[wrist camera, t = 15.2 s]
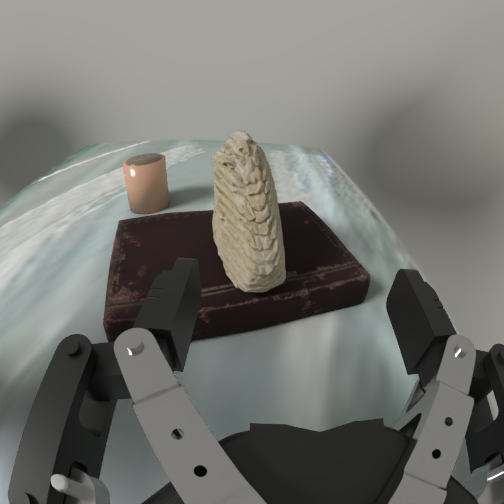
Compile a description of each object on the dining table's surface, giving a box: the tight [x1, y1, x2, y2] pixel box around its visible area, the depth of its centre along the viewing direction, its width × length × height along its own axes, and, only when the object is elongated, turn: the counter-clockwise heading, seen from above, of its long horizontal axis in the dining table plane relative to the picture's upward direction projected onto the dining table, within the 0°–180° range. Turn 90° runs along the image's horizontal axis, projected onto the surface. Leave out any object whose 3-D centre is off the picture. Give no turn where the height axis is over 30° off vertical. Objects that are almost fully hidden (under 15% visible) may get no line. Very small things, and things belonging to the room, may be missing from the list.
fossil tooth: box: [212, 131, 286, 292], centre depth 26 cm, size 12×6×15 cm
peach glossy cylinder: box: [123, 154, 170, 214], centre depth 44 cm, size 7×7×8 cm
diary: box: [103, 201, 370, 342], centre depth 32 cm, size 19×25×5 cm
